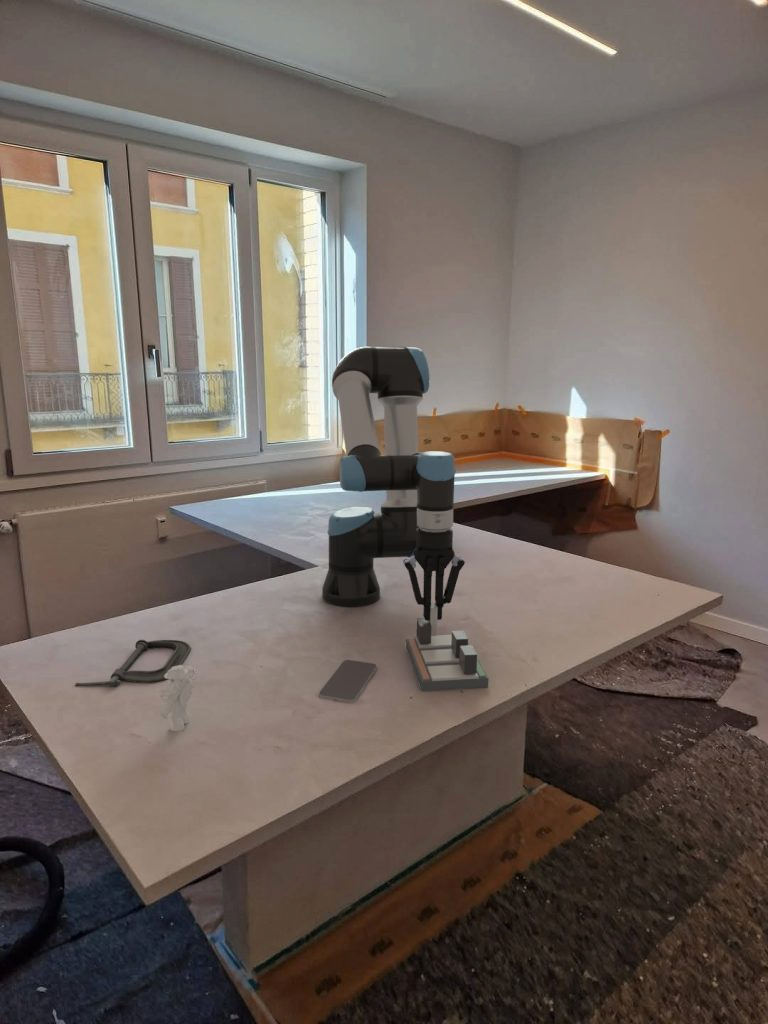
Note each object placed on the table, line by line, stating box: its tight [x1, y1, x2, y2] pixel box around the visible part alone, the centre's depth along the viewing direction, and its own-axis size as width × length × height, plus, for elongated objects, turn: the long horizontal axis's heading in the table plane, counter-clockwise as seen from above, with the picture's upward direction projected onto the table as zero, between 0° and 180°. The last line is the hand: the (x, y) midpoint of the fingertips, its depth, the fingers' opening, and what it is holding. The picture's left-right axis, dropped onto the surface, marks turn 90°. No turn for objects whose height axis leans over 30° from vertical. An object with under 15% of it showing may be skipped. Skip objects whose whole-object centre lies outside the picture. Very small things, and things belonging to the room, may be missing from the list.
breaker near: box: [459, 644, 478, 674], centre depth 127 cm, size 2×4×4 cm, turn 7°
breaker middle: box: [451, 630, 469, 658], centre depth 134 cm, size 2×4×4 cm, turn 7°
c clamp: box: [74, 639, 192, 688], centre depth 134 cm, size 20×17×3 cm
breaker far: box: [416, 618, 431, 644], centre depth 140 cm, size 2×4×4 cm, turn 7°
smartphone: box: [318, 659, 378, 703], centre depth 128 cm, size 7×1×15 cm
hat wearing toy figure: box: [158, 664, 197, 732], centre depth 111 cm, size 9×4×12 cm, turn 168°
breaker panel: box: [405, 634, 489, 692], centre depth 134 cm, size 13×19×2 cm
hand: (432, 633), depth 140 cm, fingers closed
